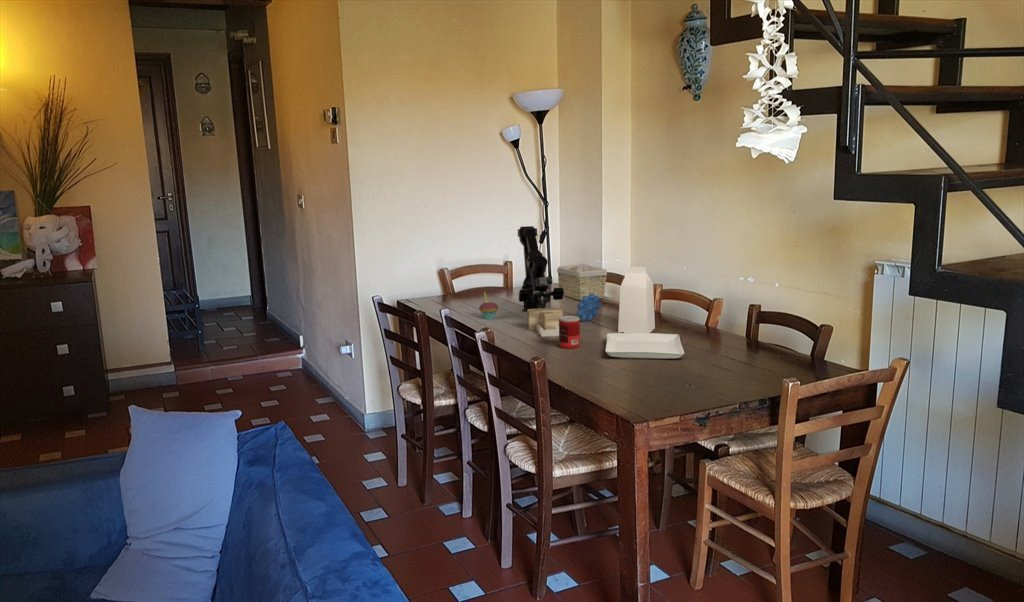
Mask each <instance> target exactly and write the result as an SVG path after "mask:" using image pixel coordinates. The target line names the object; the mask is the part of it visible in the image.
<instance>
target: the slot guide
mask: <svg viewBox="0 0 1024 602" xmlns="http://www.w3.org/2000/svg"><path fill="white" fill-rule="evenodd" d="M555 327H556V329H550V330H544V329H543V327H542V326H541V325H540V324H536V330H535V331H538V332H537V333H538V335H540V337H559V326H558V325H557V324H556V323H555Z"/></svg>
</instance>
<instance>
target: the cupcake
mask: <svg viewBox="0 0 1024 602" xmlns="http://www.w3.org/2000/svg"><path fill="white" fill-rule="evenodd" d="M483 293H484V294H483V295H484V301H485V302H484V303H483V302H482V304H480V305H479V307H478V308H479V311H480V313H481V314H482V317H483V319H484V318H485V319H484V320H493V319H492V318H494V319H495V317H496V314H497V312H498V310H499V305H498V304H496V303H495V302H491V301H490V302H489V301H487V294H486V292H485V291H483Z"/></svg>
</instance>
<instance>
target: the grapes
mask: <svg viewBox="0 0 1024 602" xmlns="http://www.w3.org/2000/svg"><path fill="white" fill-rule="evenodd" d="M600 299H601V298H599V296H595V295H594V294H593V293H591V294H589V295H588V296H584V297H583V298H582V300H581V301H580V302H578V304H577V309H578V310H577V312H576V316H578V317H580V321H581V322H585V321H587V322H590V321H592V320H593V318H594V317H597V316H598V315H599V309H600V308H601V307H602V303H601V302H600Z"/></svg>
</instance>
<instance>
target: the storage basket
mask: <svg viewBox="0 0 1024 602" xmlns="http://www.w3.org/2000/svg"><path fill="white" fill-rule="evenodd" d="M556 272H557V278H558V279H557V280H558V287H562V288H563V289H564V295H563V297H567V298H571V299H574V300H577V301H578V300H579V301H582V298H583V297H584V296H588V295H589V294H591V293H593V294H594V295H595V296H599V298H600V299H603V298H605V293H606V281H607V275H608V272H607V269H605V268H601V267H596V266H594V265H588V264H584V263H580V264H571V265H565V266H564V265H561V266H558V267H557V271H556Z"/></svg>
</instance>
